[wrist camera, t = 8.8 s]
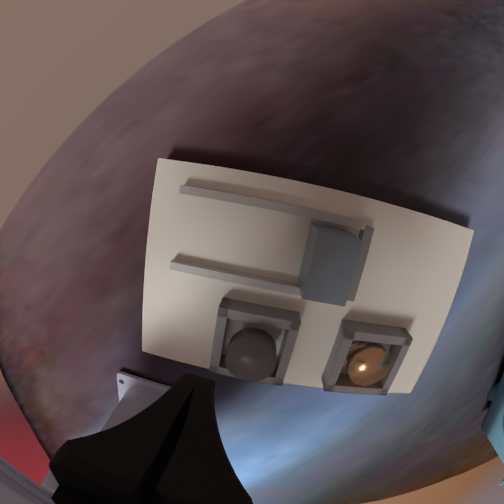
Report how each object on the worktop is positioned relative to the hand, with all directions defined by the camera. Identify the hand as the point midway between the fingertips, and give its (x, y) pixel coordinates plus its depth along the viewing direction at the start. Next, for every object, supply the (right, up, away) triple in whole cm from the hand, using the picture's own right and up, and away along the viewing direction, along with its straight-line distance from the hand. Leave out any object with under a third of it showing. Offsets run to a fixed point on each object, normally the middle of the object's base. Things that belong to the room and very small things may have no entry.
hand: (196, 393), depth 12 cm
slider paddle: (+7, +6, +6) cm, 11 cm away
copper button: (+10, -1, +7) cm, 13 cm away
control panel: (+6, +4, +8) cm, 11 cm away
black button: (+2, 0, +6) cm, 7 cm away
